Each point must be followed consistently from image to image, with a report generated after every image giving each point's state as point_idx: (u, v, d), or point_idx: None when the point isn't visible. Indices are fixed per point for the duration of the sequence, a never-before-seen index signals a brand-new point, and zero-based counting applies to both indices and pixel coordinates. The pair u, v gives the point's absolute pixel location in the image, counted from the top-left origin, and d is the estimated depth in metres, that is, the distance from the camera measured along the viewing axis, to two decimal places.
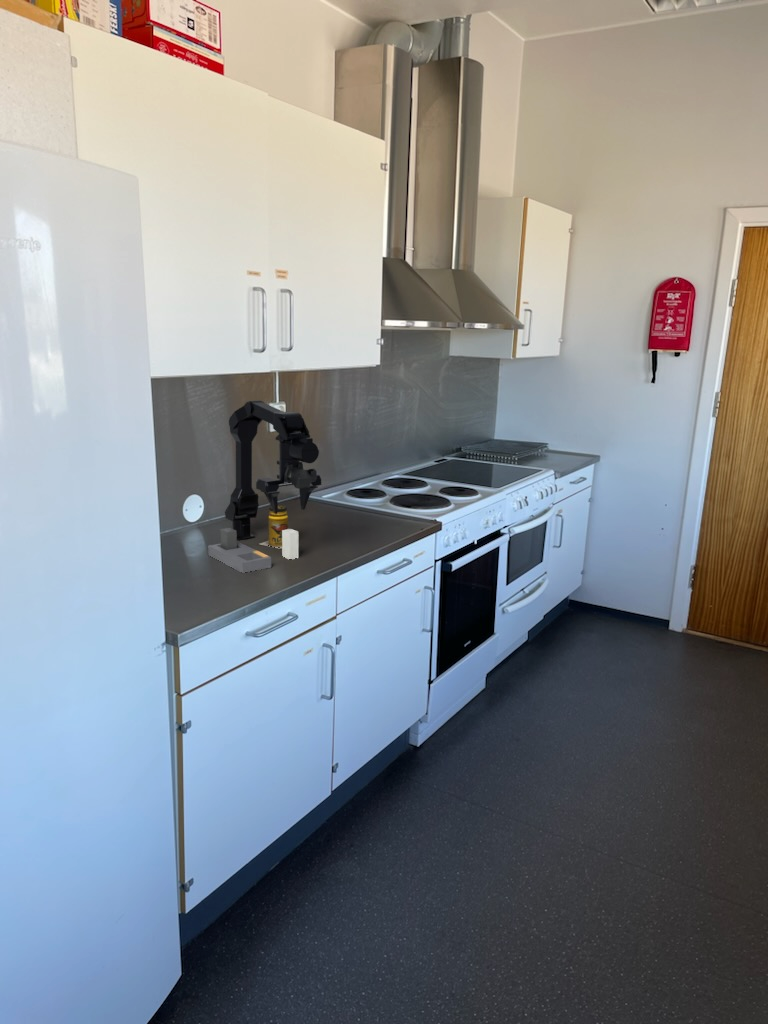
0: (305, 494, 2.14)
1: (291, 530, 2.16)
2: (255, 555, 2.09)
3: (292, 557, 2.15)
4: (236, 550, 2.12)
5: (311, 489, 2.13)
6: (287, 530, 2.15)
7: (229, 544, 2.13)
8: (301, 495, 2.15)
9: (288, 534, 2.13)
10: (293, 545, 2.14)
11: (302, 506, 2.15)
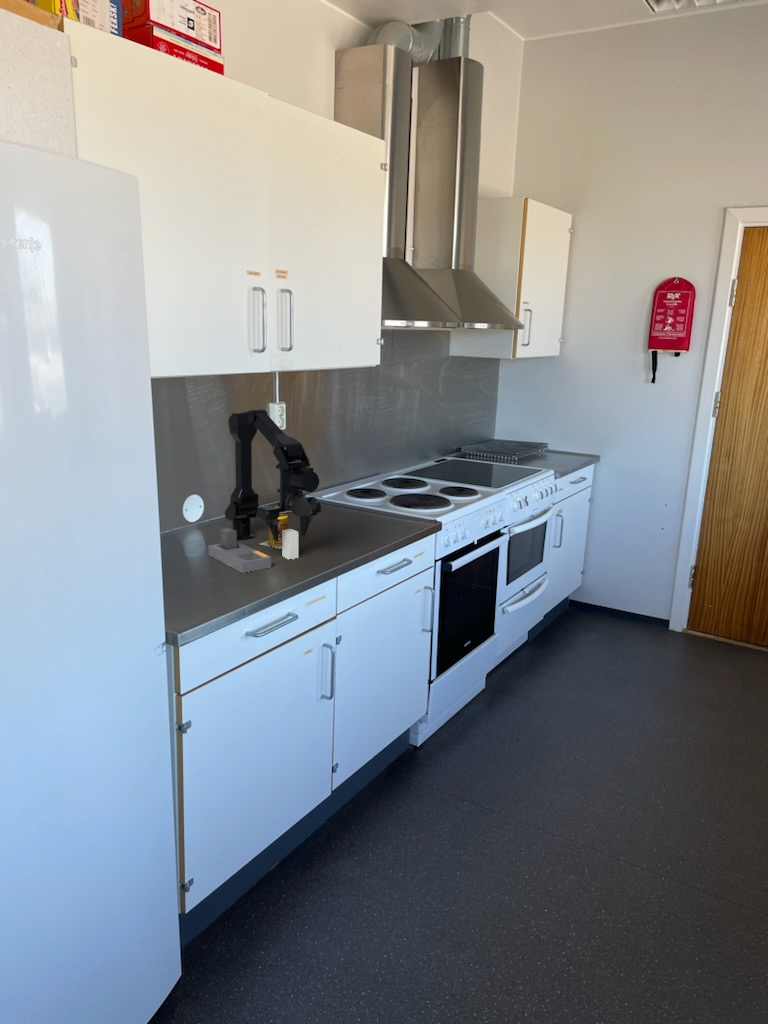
0: (305, 521, 2.17)
1: (291, 530, 2.16)
2: (255, 555, 2.09)
3: (292, 557, 2.15)
4: (236, 550, 2.12)
5: (311, 516, 2.16)
6: (287, 530, 2.15)
7: (229, 544, 2.13)
8: (301, 522, 2.18)
9: (288, 534, 2.13)
10: (293, 545, 2.14)
11: (302, 533, 2.18)
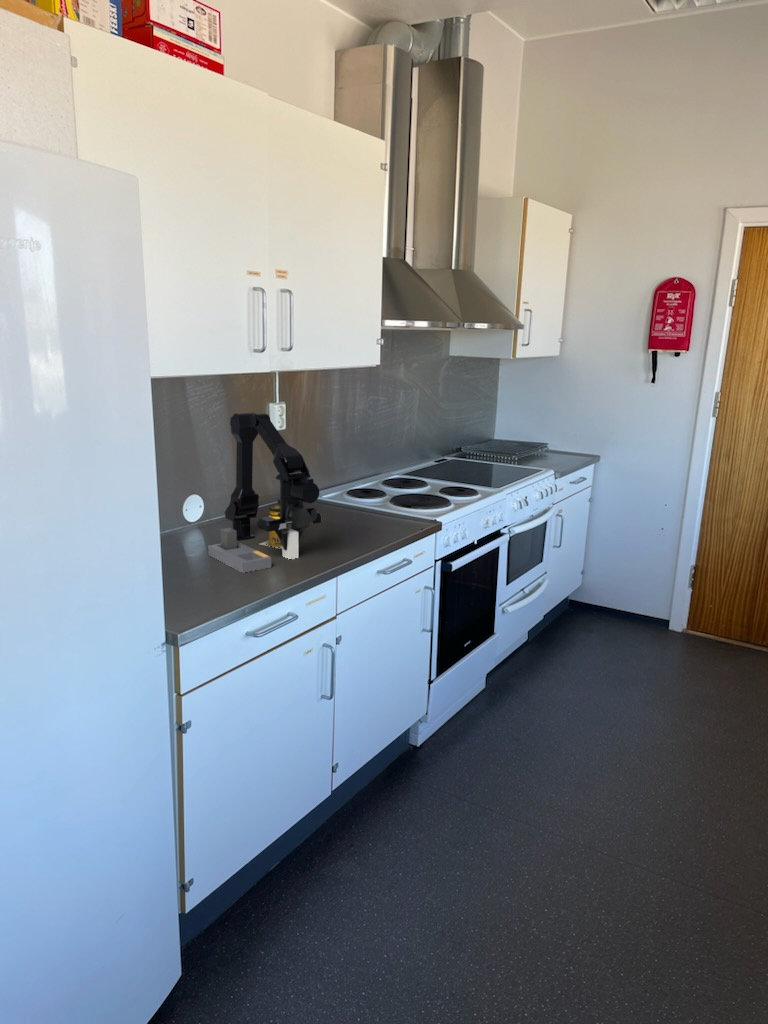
0: None
1: (291, 530, 2.16)
2: (255, 555, 2.09)
3: (292, 557, 2.15)
4: (236, 550, 2.12)
5: (303, 528, 2.15)
6: None
7: (229, 544, 2.13)
8: None
9: (288, 534, 2.13)
10: (293, 545, 2.14)
11: None
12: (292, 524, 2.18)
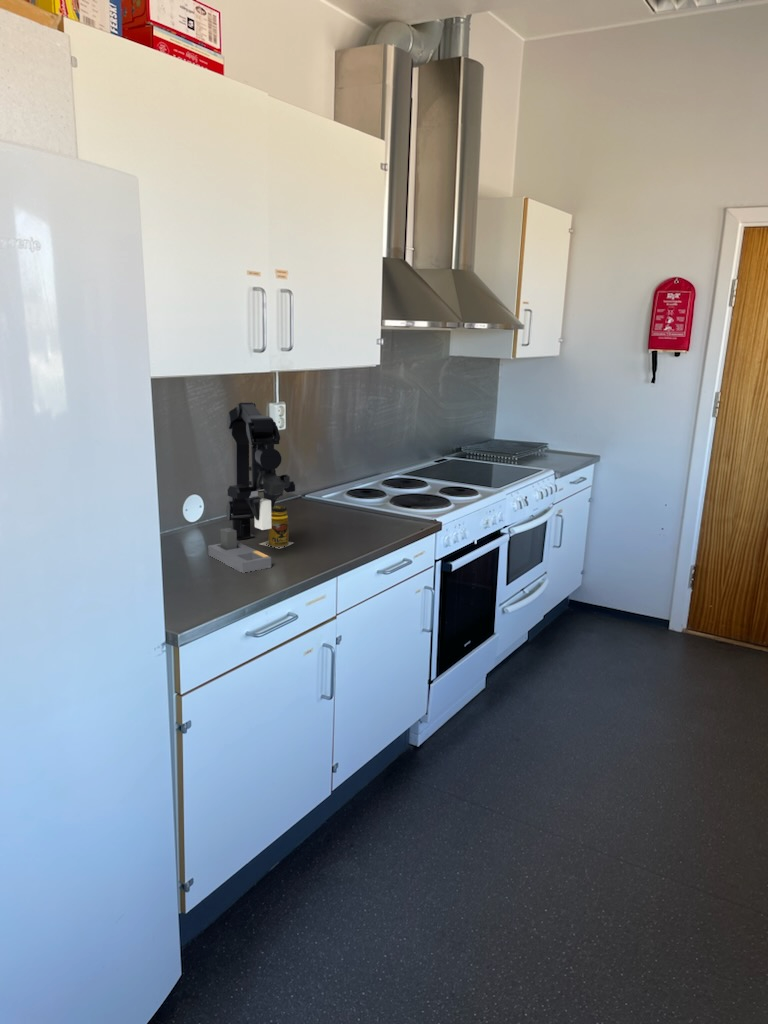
0: None
1: (263, 499, 2.06)
2: (255, 555, 2.09)
3: (265, 527, 2.06)
4: (236, 550, 2.12)
5: (276, 497, 2.06)
6: None
7: (229, 544, 2.13)
8: None
9: (260, 503, 2.04)
10: (266, 515, 2.05)
11: None
12: (264, 493, 2.08)
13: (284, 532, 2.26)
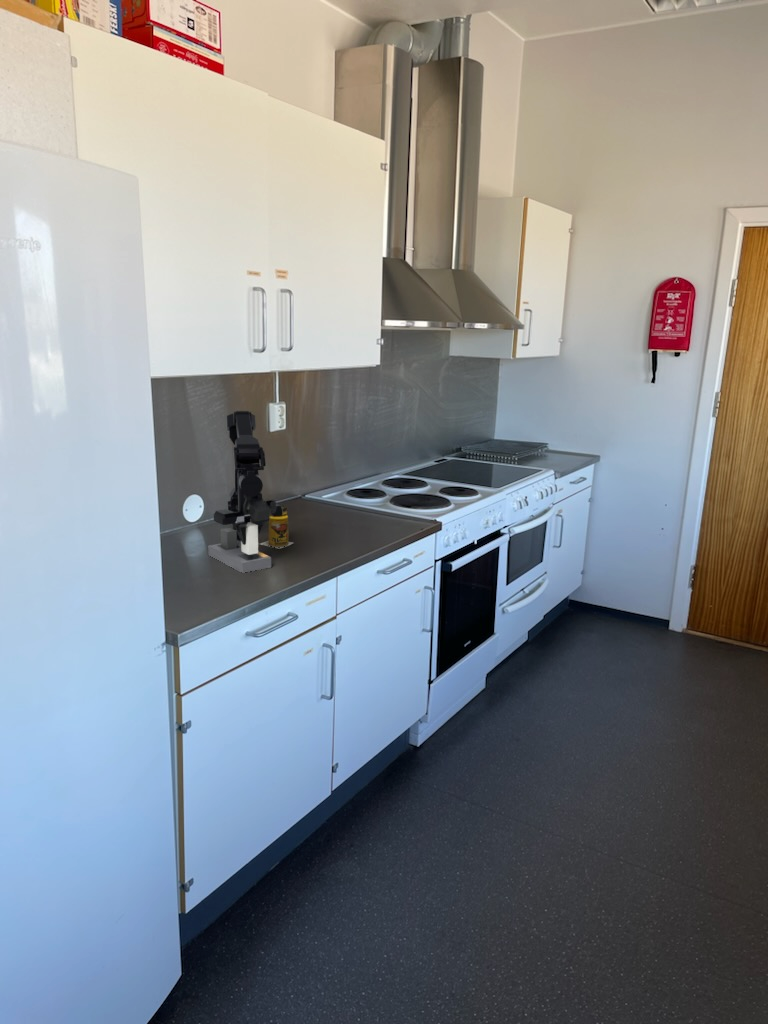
0: None
1: (250, 523, 2.05)
2: (255, 555, 2.09)
3: (251, 552, 2.04)
4: (236, 550, 2.12)
5: (262, 522, 2.04)
6: None
7: (229, 544, 2.13)
8: None
9: (247, 528, 2.03)
10: (252, 539, 2.04)
11: None
12: (252, 517, 2.07)
13: (284, 532, 2.26)
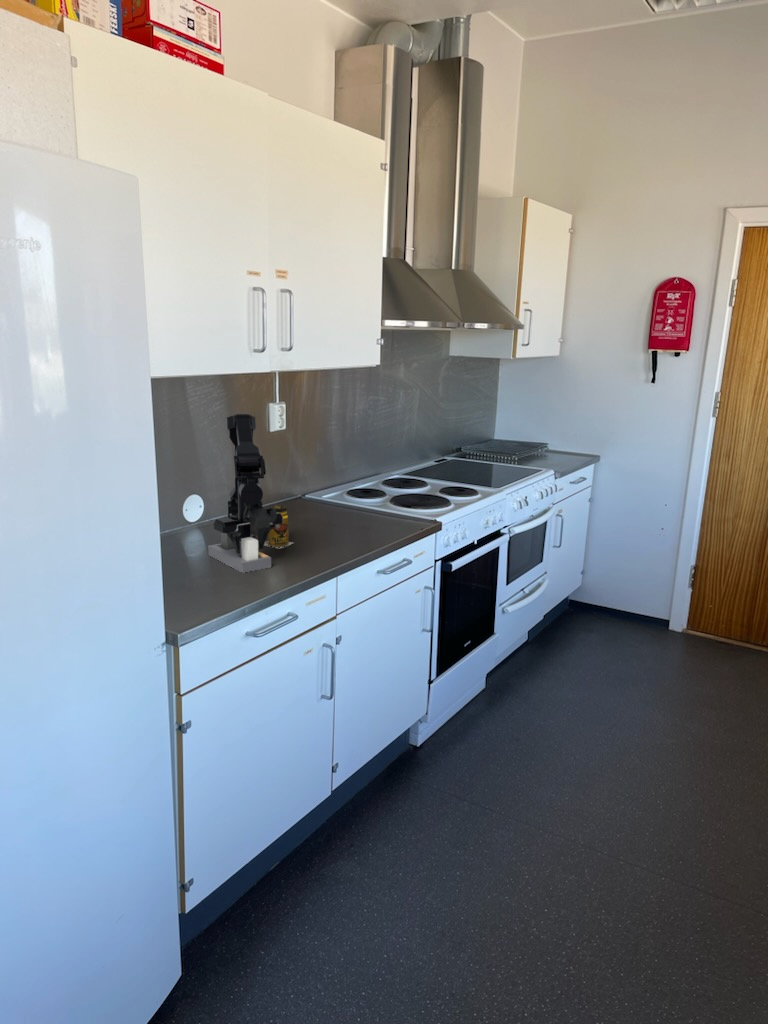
0: (263, 534, 2.07)
1: (251, 538, 2.06)
2: None
3: None
4: None
5: (269, 529, 2.06)
6: (246, 538, 2.06)
7: (229, 544, 2.13)
8: (259, 535, 2.08)
9: (247, 543, 2.04)
10: (253, 554, 2.05)
11: (260, 546, 2.08)
12: None
13: (284, 532, 2.26)
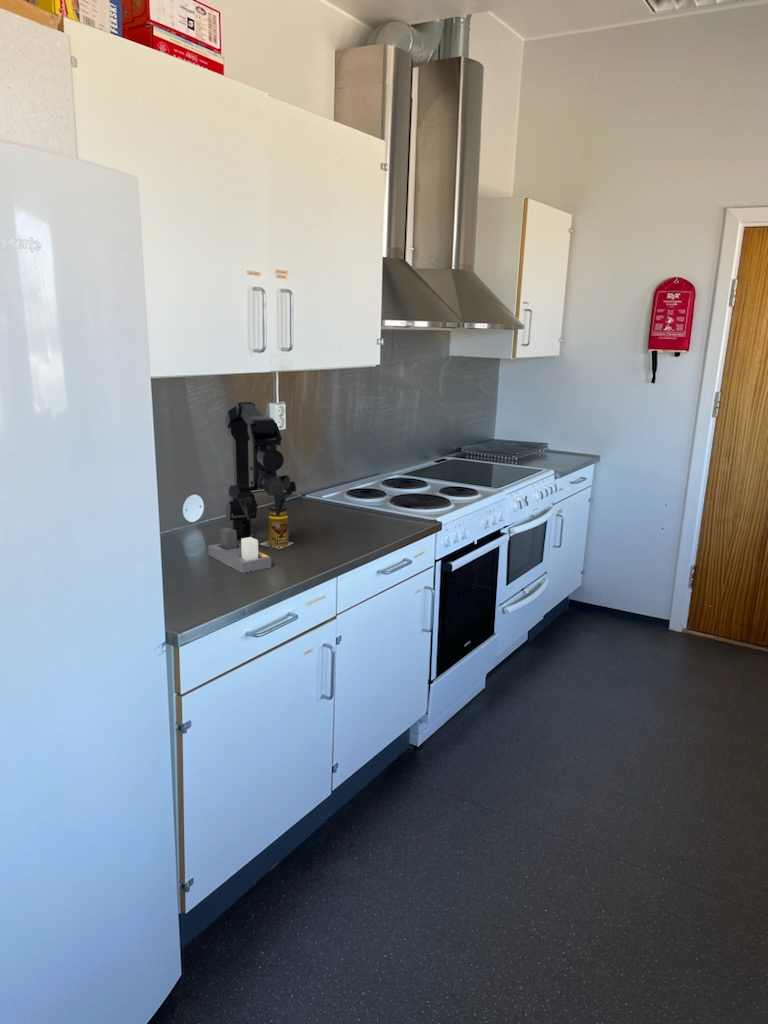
0: (279, 500, 2.11)
1: (251, 538, 2.06)
2: None
3: None
4: (236, 550, 2.12)
5: (285, 495, 2.10)
6: (246, 538, 2.06)
7: (229, 544, 2.13)
8: (276, 502, 2.13)
9: (247, 543, 2.04)
10: (253, 554, 2.05)
11: (276, 512, 2.13)
12: None
13: (284, 532, 2.26)
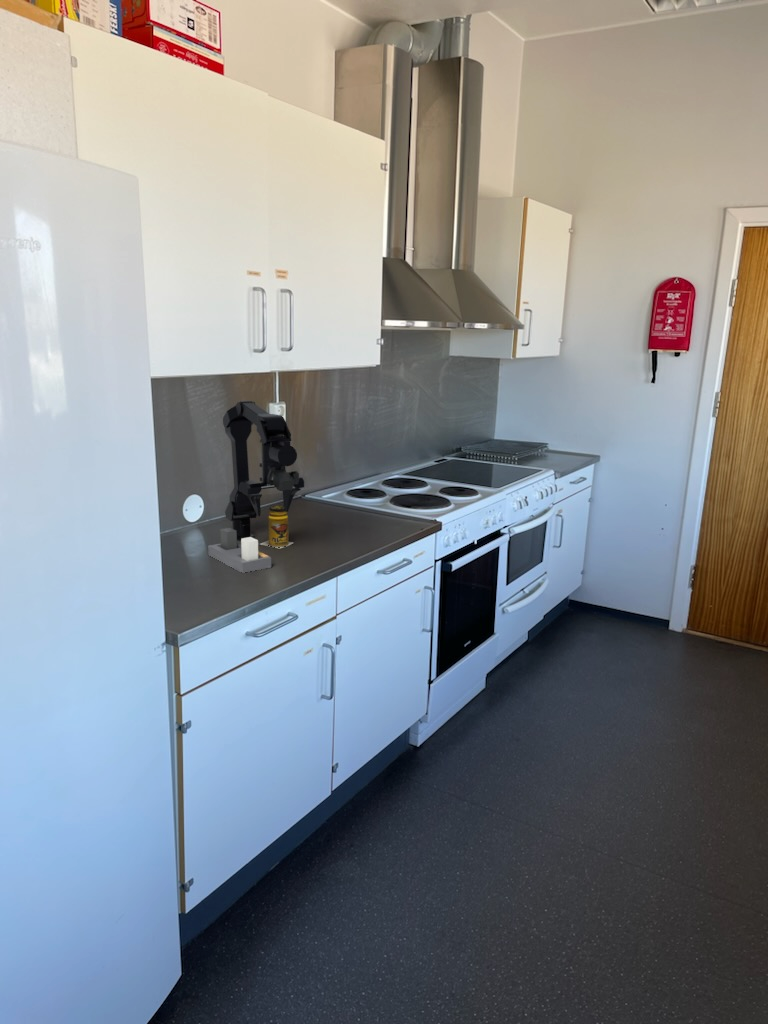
0: (288, 496, 2.15)
1: (251, 538, 2.06)
2: None
3: None
4: (236, 550, 2.12)
5: (294, 491, 2.14)
6: (246, 538, 2.06)
7: (229, 544, 2.13)
8: (284, 498, 2.16)
9: (247, 543, 2.04)
10: (253, 554, 2.05)
11: (285, 508, 2.16)
12: None
13: (284, 532, 2.26)
